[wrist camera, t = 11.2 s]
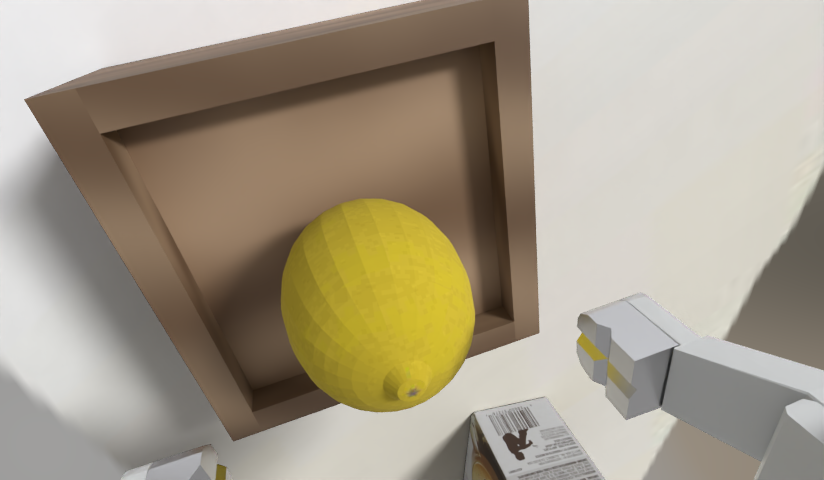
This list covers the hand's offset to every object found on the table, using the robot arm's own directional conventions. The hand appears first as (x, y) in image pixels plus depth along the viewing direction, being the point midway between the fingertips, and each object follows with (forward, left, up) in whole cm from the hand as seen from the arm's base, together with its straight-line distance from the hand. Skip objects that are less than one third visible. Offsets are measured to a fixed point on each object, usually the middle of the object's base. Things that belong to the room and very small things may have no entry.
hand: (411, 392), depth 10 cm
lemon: (+1, 0, -9) cm, 9 cm away
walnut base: (0, 0, -13) cm, 13 cm away
